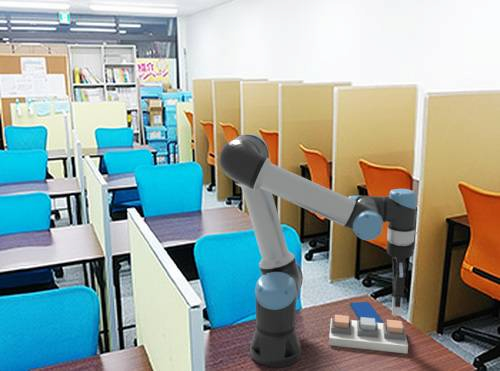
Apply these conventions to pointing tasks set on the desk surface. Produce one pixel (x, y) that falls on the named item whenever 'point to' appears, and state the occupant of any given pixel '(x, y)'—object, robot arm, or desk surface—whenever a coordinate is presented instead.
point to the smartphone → (365, 311)
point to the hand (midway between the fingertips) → (396, 314)
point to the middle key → (367, 324)
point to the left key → (341, 321)
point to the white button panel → (368, 337)
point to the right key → (394, 326)
